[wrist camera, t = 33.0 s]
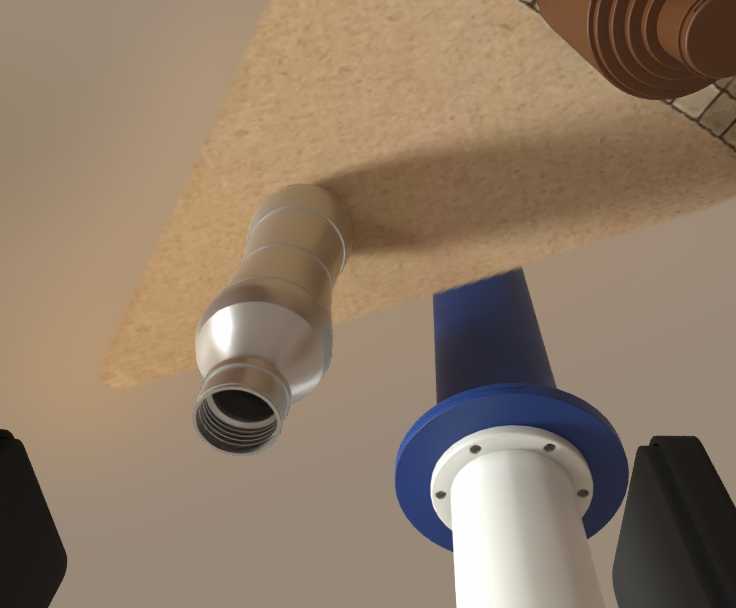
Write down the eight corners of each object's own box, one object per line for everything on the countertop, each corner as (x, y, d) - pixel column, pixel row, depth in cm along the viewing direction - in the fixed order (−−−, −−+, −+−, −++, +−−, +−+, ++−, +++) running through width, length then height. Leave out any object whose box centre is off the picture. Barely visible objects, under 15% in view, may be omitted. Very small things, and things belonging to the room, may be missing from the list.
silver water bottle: (236, 224, 45) (123, 425, 28) (300, 151, 42) (219, 324, 25) (311, 284, 47) (250, 506, 29) (377, 217, 44) (352, 420, 27)
